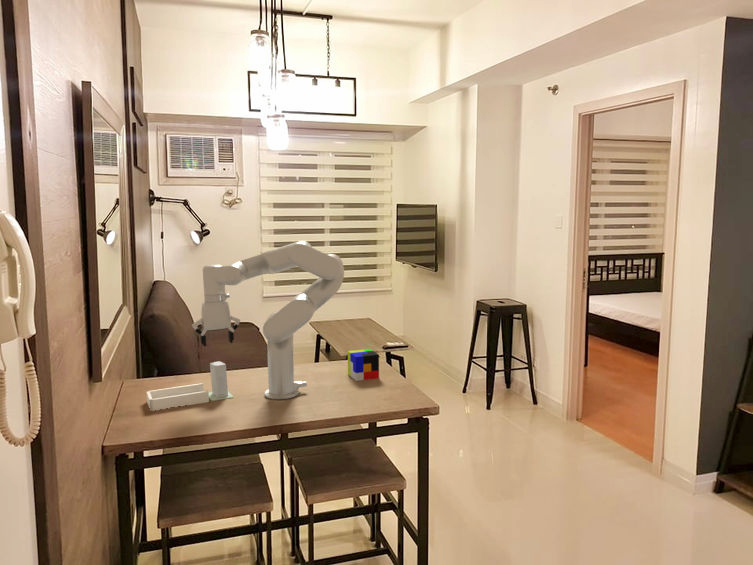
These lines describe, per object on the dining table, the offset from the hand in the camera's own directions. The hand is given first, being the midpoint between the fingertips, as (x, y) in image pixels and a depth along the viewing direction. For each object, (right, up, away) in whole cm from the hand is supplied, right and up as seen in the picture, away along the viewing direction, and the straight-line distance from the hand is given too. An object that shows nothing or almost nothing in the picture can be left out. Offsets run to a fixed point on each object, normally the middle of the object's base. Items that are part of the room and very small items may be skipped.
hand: (217, 343), depth 219 cm
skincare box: (0, -20, +3) cm, 20 cm away
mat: (0, -20, +3) cm, 20 cm away
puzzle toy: (+53, -16, +25) cm, 61 cm away
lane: (-13, -21, -4) cm, 25 cm away
